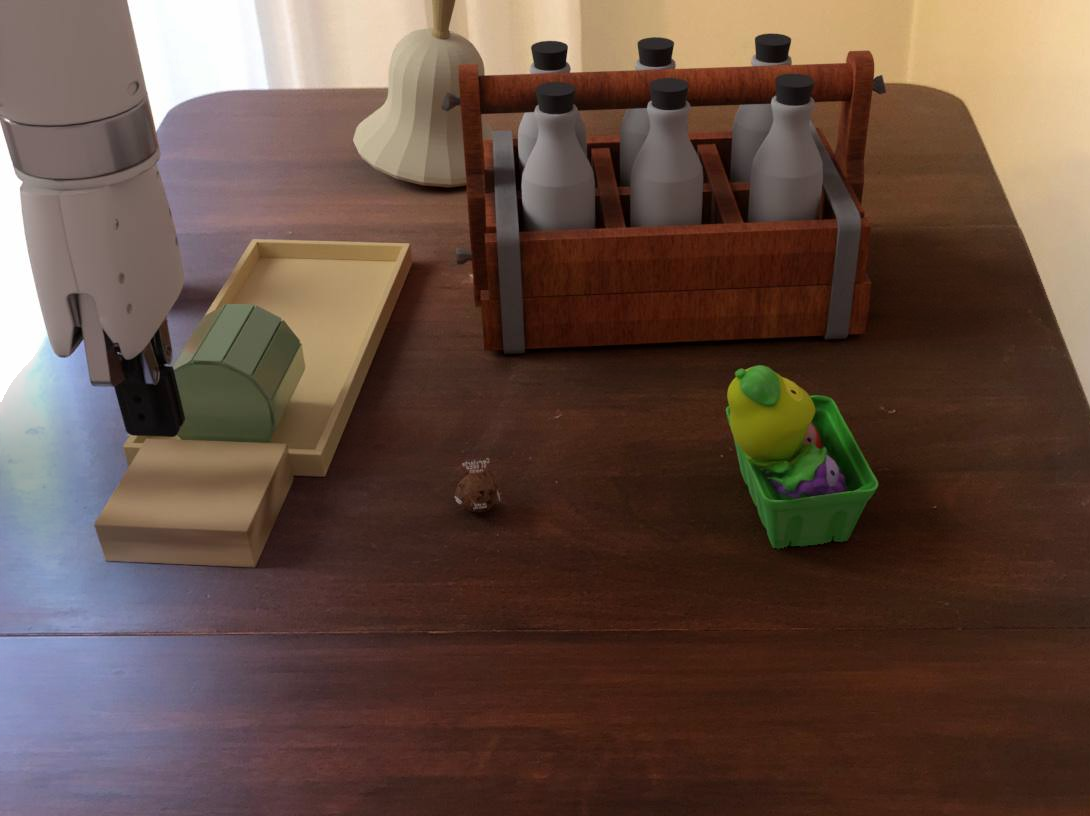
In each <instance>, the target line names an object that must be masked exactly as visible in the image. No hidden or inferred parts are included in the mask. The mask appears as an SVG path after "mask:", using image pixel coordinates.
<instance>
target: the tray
mask: <svg viewBox="0 0 1090 816" xmlns="http://www.w3.org/2000/svg"><path fill="white" fill-rule="evenodd" d="M412 265H413V256H412V247H411V243H409V242H408V243H407V242H377V241H376V242H373V241H372V242H371V241H340V240H339V241H338V240H337V241H336V240H306V239H305V240H301V239H270V238H267V239H265V238H252V239H251V241H250V242H249V244H248V246H247V247H246V249H245V250H244V252H243V254H242V255H241V257H240V259H239V260H238V262H237V263H236V265H235V266H234V268H233V269H232V271H231V273H230V275H229V276H228V278H227V279H226V281H225V282H224V284H223V286H222V287H221V288H220V290H219V292H218V293H217V295H216V296H215V299H214V300H213V302H212V303H211V305H210V306H209V308H208V309H207V311H206V313H205V314H204V316H205V315H207V314H209V313H210V312H212V311H214V310H216V309H217V308H219V307H221V306H223V305H225V304H226V305H227V304H251V305H254V307H255V306H256V305H257V306H259V307H261V308H263V309H265V310H267V311H269V312H270V313H272V314H274V315H276V316H278V317H280V318H282V319H281V321H282V320H284V321H285V322H286V324H287V325H288V326H289V327H290V329H291V330H292V331H293V332H294V334H295V335H296V336H297V337H298V339H299V340H300V343H301V344H302V350H303V356H304V362H305V370H304V372H303V374H302V376H301V378H300V380H299V383H298V385H297V387H296V389H295V391H294V393H293V395H292V397H291V399H290V401H289V403H288V405H287V407H286V409H285V411H284V413H283V415H282V418H281V420H280V422H279V424H278V426H277V428H276V430H275V432H274V434H273V436H272V438H271V440H270V442H269V443H280V444H287V445H288V450H289V455H290V461H291V466H292V471H293V477H295V476H296V477H319V478H326V476H327V473H328V470H329V468H330V465H331V463H332V461H333V458H334V455H335V453H336V452H337V451H336V450H337V448H338V445H339V443H340V441H341V439H342V436H343V433H344V431H345V429H346V426H347V424H348V421H349V419H350V416H351V414H352V412H353V409H354V406H355V404H356V402H357V399H358V397H359V395H360V393H361V390H362V387H363V384H364V383H365V379H366V378H367V375H368V373H369V370H370V368H371V365H372V363H373V360H374V358H375V355H376V352H377V350H378V348H379V345H380V343H381V341H382V338H383V336H384V333H385V331H386V328H387V326H388V324H389V322H390V319H391V316H392V313H393V312H394V310H395V306H396V304H397V302H398V299H399V297H400V295H401V292H402V289H403V287H404V285H405V282H406V279H407V277H408V275H409V272H410V269H411V267H412ZM147 438H150V439H176V440H181V439H180V438H179V437H178V436H177V435H176V436H174V437H162V436H134V435H130V434H129V436H128V438H127V439H126V441H125V443H124V444H123V446H122V449H123V452H124V453H123V454H124V456H125V460H126V463H127V467H128V468H129V466H130V465H131V463H132V461H133V460H134V458H135V456H136V455H137V453H138V451H139V450H140V448H141V446H142V445H143V443H144V441H145V440H146V439H147ZM128 468H127V469H128Z"/></svg>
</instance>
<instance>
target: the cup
mask: <svg viewBox="0 0 1090 816" xmlns="http://www.w3.org/2000/svg"><path fill="white" fill-rule="evenodd" d="M281 319H282V318H280V317H278V316H276V315H274V314H272V313H270V312H269V311H267V310H265V309H263V308H261V307H259V306H257V305H256V306H255V307H254V305H251V304H227V305H226V304H225V305H223V306H221V307H219V308H217V309H216V310H214V311H212V312H210V313H209V314H207V315H205V314H204V316H203V317H202V319H200V322H199V323H198V325H197V326H196V328H195V329H194V331H193V333H192V334H191V336H190V338H189V339H188V340H187V342H186V344H185V345H184V347H183V348H182V350H181V352H180V353H179V355H178V357H176V360H175V361H174V363H173V364H172V366H171V367H173V369H174V373H175V378H176V382H177V386H178V390H179V394H180V399H181V403H182V407H183V411H184V415H185V421H184V423H183V425H182V426H181V427H180V430H179V432H178V433H177V436H178V437H179V438H180V439H181V440H202V441H228V442H254V443H269V442H270V440H271V438H272V436H273V434H274V432H275V430H276V428H277V426H278V424H279V422H280V420H281V418H282V415H283V413H284V411H285V409H286V407H287V405H288V403H289V401H290V399H291V397H292V395H293V393H294V391H295V389H296V387H297V385H298V383H299V380H300V378H301V376H302V374H303V372H304V370H305V362H304V356H303V350H302V344H301V343H300V340H299V339H298V337H297V336H296V335H295V334H294V332H293V331H292V330H291V329H290V327H289V326H288V325H287V324H286V322H285V321H284V320H282V321H281Z"/></svg>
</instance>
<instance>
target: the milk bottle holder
mask: <svg viewBox="0 0 1090 816" xmlns="http://www.w3.org/2000/svg"><path fill="white" fill-rule="evenodd" d="M636 44H637V52H638V59H636V61H635V65H634V69H633V70H632V69H631V70H629V69H628V70H606V71H605V70H603V71H600V70H599V71H576V72H575V71H574V72H573V71H572V72H571V70H572V68H571V65H570V63H569V62H568V61H567V60H568V59H567V58H568V49H569V46H568V44H567V43H565V42H563V41H559V40H558V41H557V40H541V41H538V42H534V43H532V45H531V46H530V50H531V51H530V52H531V56H532V62H531V64H530V66H529V73H518V74H516V73H515V74H487V75H484V76H479V74H478V64H459V65H458V71H459V89H460V95H457V96H456V95H454V94H451V93H449V92H446V95H445V98H444V101H443V104H442V108H441V109H442V110H444V111H449V110H451V109H452V108H454V107H455V106H457V105H461V117H462V130H463V144H464V157H465V171H466V186H465V187H466V199H467V213H468V227H469V228H468V229H469V239H470V251H468V250H466V249H464V248H461V247H460V248H459V247H458V248H455V256H456V257H455V258H456V265H458V266H459V265H464V264H466V263H467V262H470V261H471V267H472V279H473V281H472V282H473V294H474V307H476V308H478V307H479V308H481V323H482V333H483V334H482V336H483V348H484V349H483V350H484V351H485V352H486V351H488V352H489V351H503V354H504V355H513V354H517V355H518V354H526V350H532V349H533V350H534V349H551V348H552V349H553V348H555V349H557V348H575V347H576V348H577V347H597V346H622V345H642V344H665V343H686V342H687V343H688V342H708V341H709V342H710V341H711V342H712V341H732V340H733V341H734V340H752V339H753V340H754V339H755V340H756V339H757V340H758V339H777V338H778V339H779V338H797V337H798V338H801V337H819V336H820V337H821V336H822V337H823V339H824V340H843V339H844V340H845V339H847V338H848V336H849V335H864V334H865V333H866V329H867V328H866V327H867V321H868V317H869V310H870V309H869V308H870V299H871V291H872V290H871V289H872V282H871V279H870V278H869V276H868V274H867V273H866V270H867V262H868V257H869V250H870V242H871V241H870V240H871V238H870V237H871V228H872V226H871V224H870V222H869V221H868V218H867V217H865V213H866V211H865V210H864V208H863V206H862V202H863V193H864V185H865V156H866V155H865V154H866V147H867V140H868V139H867V138H868V131H869V122H870V113H871V104H872V98H873V97H872V96H873V92H875V93H876V94H879V95H883V94H886V93H887V90H886V89H887V88H886V84H885V81H884V76H883V74H880V75H878V76H875V60H874V55H873V54H872V52H871V51H870V50H849V51H848V52H847V56H846V59H845V62H837V63H834V62H833V63H811V64H810V63H809V64H807V63H806V64H792V63H793V60H792V57H791V56H790V55H789V53H790V48H791V44H792V38H791V37H790V36H788V35H786V34H783V33H782V34H781V33H770V32H769V33H762V34H758V35H757V36H755V37H754V47H755V54H754V55H753V56H751V60H750V61H751V62H750V64H751V65H750V66H749V65H748V66H722V67H720V66H718V67H692V68H691V67H690V68H689V67H688V68H677V64H676V61H675V60H674V59H673V52H674V46H675V42H674V41H673V40H672V39H670V38H666V37H660V36H659V37H657V36H652V37H645V38H642V39H640V40H638V41H637V43H636ZM830 102H831V103H833V102H841V104H840V112H839V113H840V114H839V123H838V132H837V141H836V146H835V149H834V151H833V149H832V147H831V144H830V143H829V141H828V140H827V138H826V135H825V134H824V132H823V130H822V128H819V127H815V125H814V123H813V122H812V120H811V117H812V113H813V112H814V109H815V103H830ZM717 106H721V107H722V106H739V107H738V109H737V111H736V113H735V115H734V120H733V125H732V130H724V131H723V130H719V131H694V132H693V131H692V132H689V127H688V117H689V115H690V112H691V108H692V107H693V108H694V107H696V108H697V107H717ZM605 110H606V111H609V110H611V111H612V110H626V111H625V113H624V115H623V118H622V121H621V124H620V131H619V134H614V135H613V134H612V135H587V129H586V124H585V122H584V119H583V117H582V115H581V113H580V112H581V111H605ZM481 114H482V115H497V114H523V116H522V117H521V121H520V123H519V127H518V133H517V138H513V130H512V129H509V130H506V129H505V130H493V131H492V133H493V140H483V136H482V120H481Z"/></svg>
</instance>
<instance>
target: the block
mask: <svg viewBox="0 0 1090 816" xmlns="http://www.w3.org/2000/svg"><path fill="white" fill-rule="evenodd" d="M294 477H295V476H293V471H292V466H291V461H290V455H289V450H288V445H287V444H280V443H254V442H228V441H202V440H176V439H150V438H147V439H146V440H145V441H144V443H143V445H142V446H141V448H140V450H139V451H138V453H137V455H136V456H135V458H134V460H133V461H132V463H131V465H130V466H129V468H127V469H126V471H125V472H124V475H123V476H122V478H121V479H120V481H119V482H118V484H117V486H116V488H115V489H114V491H113V493H112V494H111V496H110V498H109V499H108V501H107V502H106V504H105V505H104V508H103V509H102V510H101V512H100V513H99V516H98V517H97V519H96V521H95V522H94V524H93V526H94V529H95V532H96V535H97V538H98V542H99V546H100V548H101V552H102V554H103V558H104V561H105V562H121V563H141V564H142V563H145V564H166V565H187V566H209V567H210V566H214V567H233V568H234V567H235V568H236V567H237V568H256V566H257V565H258V562H259V560H260V557H261V555H262V554H263V553H262V552H263V551H264V548H265V546H266V544H267V541H268V539H269V536H270V534H271V532H272V530H273V528H274V525H275V523H276V521H277V519H278V516H279V514H280V512H281V510H282V507H283V505H284V503H285V501H286V498H287V496H288V494H289V491H290V489H291V487H292V484H293V482H294V479H295V478H294Z"/></svg>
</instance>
